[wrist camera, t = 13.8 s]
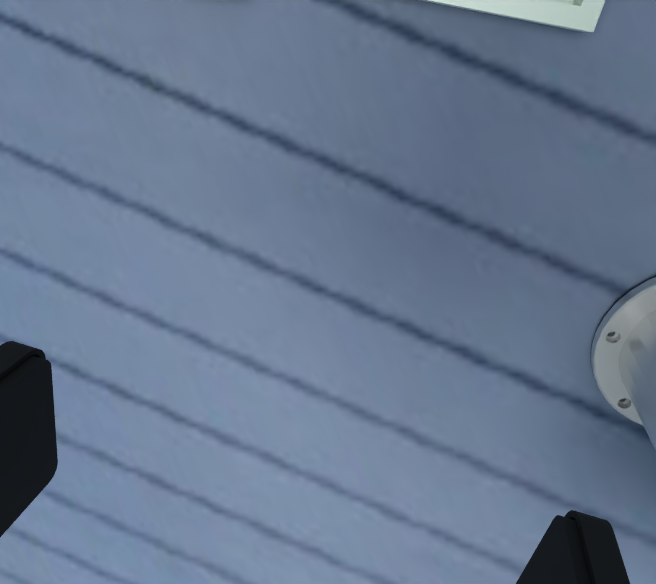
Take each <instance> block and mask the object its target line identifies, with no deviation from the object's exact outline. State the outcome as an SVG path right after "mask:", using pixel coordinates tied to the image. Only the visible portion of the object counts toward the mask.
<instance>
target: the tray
mask: <svg viewBox="0 0 656 584" xmlns="http://www.w3.org/2000/svg"><path fill="white" fill-rule="evenodd" d="M420 1H426V2H431V3H436V4H441V5H446V6H451V7H456V8H461V9H467V10H472V11H477V12H482V13H487V14H492V15H497V16H502V17H508V18H513V19H518V20H523V21H528V22H533V23H538V24H543V25H548V26H554V27H559V28H564V29H569V30H574V31H579V32H594V29H595V27H596V24H597V21H598V18H599V16H600V13H601V10H602V8H603V5H604V2H605V0H420Z"/></svg>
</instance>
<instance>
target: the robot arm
mask: <svg viewBox="0 0 656 584" xmlns="http://www.w3.org/2000/svg"><path fill="white" fill-rule="evenodd" d="M610 332H612V333H610ZM591 364H592V369H593V375H594V377H595V379H596V382H597V384H598V387H599V389H600V391H601V392H602V394H603V396H604V397H605V399H606V400H607V401H608V403H609V404H610V405H611V406H612V407H613V408H614V409H615V410H616V411H618V412H619V413H621V414H622V415H624V416H625V417H626V418H628V419H629V420H631V421H633V422H636V423H638V424H640V425H643V426H644V428H645V430H646V432H647V434H648V436H649V438H650V440H651V442H652V444H653V446H654V448H655V451H656V277H654V278H652V279H650V280H648V281H646V282H644V283H642V284H641V285H639V286H637V287H636V288H634V289H632V290H631V291H630V292H628V293H627V294H626V295H625V296H624V297H622V298H621V299H620V300H619V301H618V302H616V303H615V305H614V306H613V307H612V308H611V309H610V310H609V312H608V313H607V314H606V315H605V316H604V318H603V320H602V322H601V323H600V325H599V327H598V329H597V331H596V333H595V337H594V340H593V343H592V350H591ZM57 463H58V460H57V445H56V430H55V415H54V400H53V385H52V370H51V363H50V362H49V361H48V360H46V358H45V354H44V352H43V351H42V350H40V349H37V348H33V347H30V346H27V345H24V344H20V343H17V342H14V341H9V342H6V343H4V344H2V345H1V346H0V537H1V536H2V535H3V534H4V532H5V531H6V530H7V529H8V528H9V527H10V526H11V525H12V524H13V522H14V521H15V520H16V519H17V518H18V517H19V516H20V515H21V513H22V512H23V511H24V510H25V509H26V508H27V507H28V506H29V504H30V503H31V502H32V501H33V500H34V499H35V498H36V497H37V495H38V494H39V493H40V492H41V491H42V490H43V489H44V488H45V487H46V485H47V484H48V483H49V482H50V481H51V479H52V477H53V476H54V474H55V471H56V469H57ZM516 584H630V582H629V579H628V576H627V572H626V569H625V566H624V563H623V560H622V557H621V553H620V550H619V547H618V544H617V541H616V537H615V534H614V531H613V528H612V526H611V524H610V523H609V522H608V521H607V520H604V519H600V518H597V517H594V516H590V515H587V514H584V513H580V512H577V511H573V510H571V511H569V512H568V513H567V514H566V515H565V517H563V516H559V515H557V516H556V517H555V518H554V519H553V521H552V523H551V524H550V526H549V528H548V529H547V531H546V533H545V535H544V536H543V538H542V540H541V541H540V543H539V545H538V547H537V548H536V550H535V552H534V553H533V555H532V557H531V559H530V560H529V562H528V564H527V565H526V567H525V569H524V571H523V572H522V574H521V576H520V578H519V579H518V581H517V583H516Z"/></svg>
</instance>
